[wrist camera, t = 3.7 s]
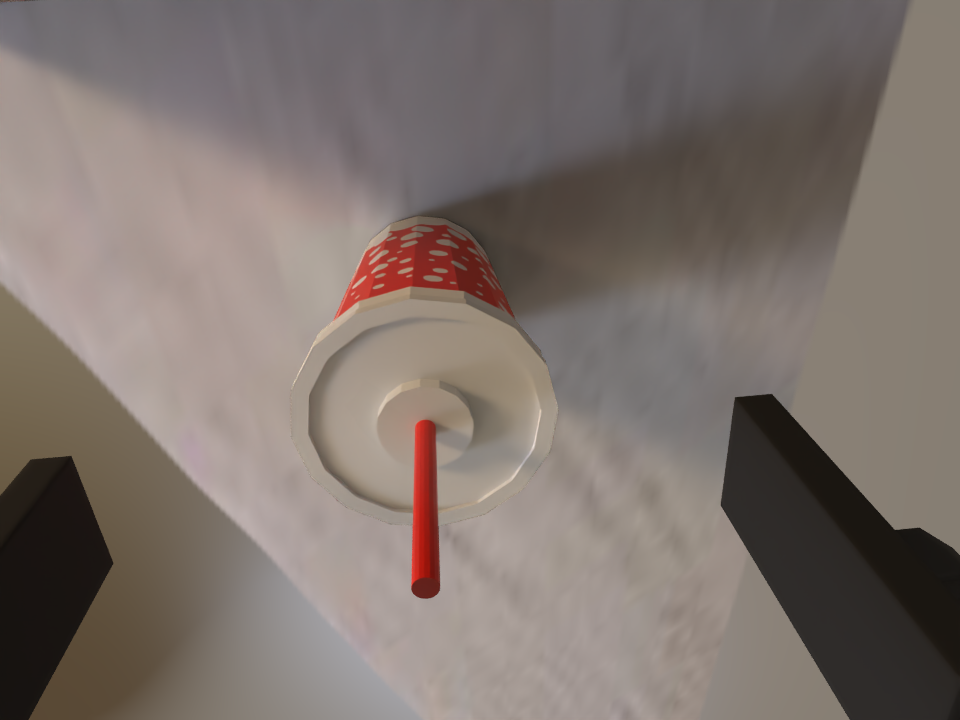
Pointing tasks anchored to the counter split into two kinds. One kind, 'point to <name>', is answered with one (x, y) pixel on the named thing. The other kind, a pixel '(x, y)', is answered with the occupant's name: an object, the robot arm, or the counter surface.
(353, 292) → the beverage cup
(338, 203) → the counter surface
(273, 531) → the counter surface
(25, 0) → the brown open-topped box
